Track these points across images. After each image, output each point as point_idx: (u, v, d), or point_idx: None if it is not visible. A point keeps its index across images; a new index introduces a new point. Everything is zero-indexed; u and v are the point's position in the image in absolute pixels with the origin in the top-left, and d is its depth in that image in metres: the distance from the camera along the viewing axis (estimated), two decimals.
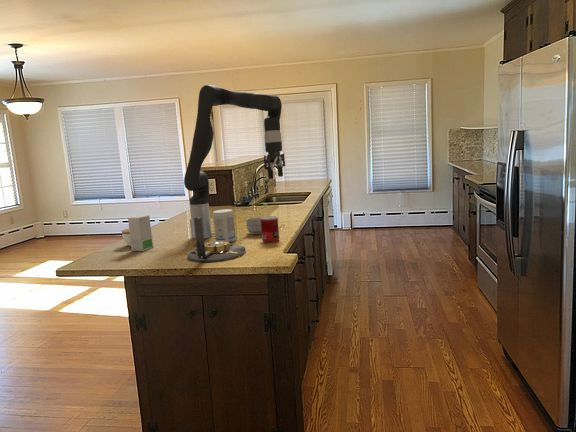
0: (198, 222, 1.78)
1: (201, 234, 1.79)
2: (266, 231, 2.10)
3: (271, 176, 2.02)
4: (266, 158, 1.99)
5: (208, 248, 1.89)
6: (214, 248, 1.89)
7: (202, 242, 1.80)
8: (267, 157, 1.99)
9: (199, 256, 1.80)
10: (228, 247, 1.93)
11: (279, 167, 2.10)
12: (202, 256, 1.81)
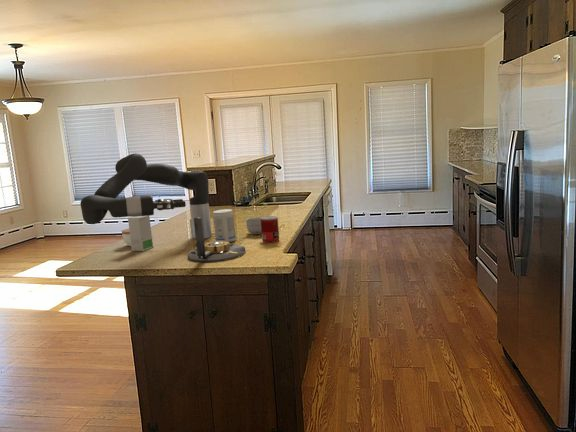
0: (198, 222, 1.78)
1: (201, 234, 1.79)
2: (266, 231, 2.10)
3: None
4: None
5: (208, 248, 1.89)
6: (214, 248, 1.89)
7: (202, 242, 1.80)
8: None
9: (199, 256, 1.80)
10: (228, 247, 1.93)
11: None
12: (202, 256, 1.81)
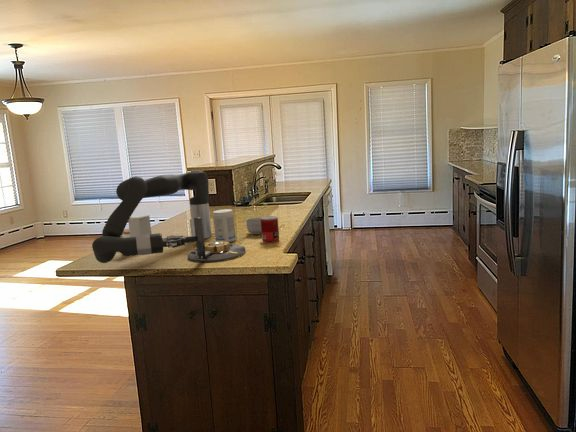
0: (198, 222, 1.78)
1: (201, 234, 1.79)
2: (266, 231, 2.10)
3: None
4: None
5: (208, 248, 1.89)
6: (214, 248, 1.89)
7: (202, 242, 1.80)
8: None
9: (199, 256, 1.80)
10: (228, 247, 1.93)
11: None
12: (202, 256, 1.80)
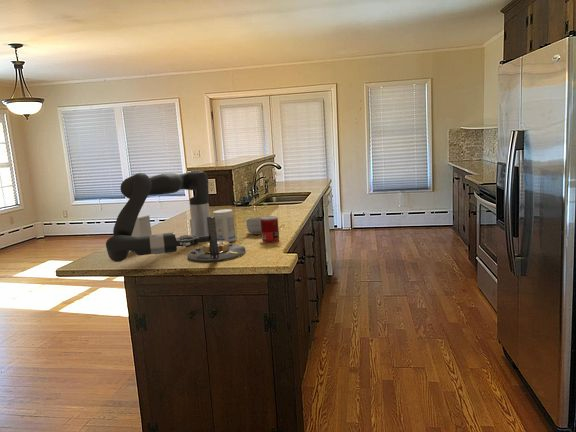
0: (213, 221, 1.78)
1: (215, 233, 1.79)
2: (266, 231, 2.10)
3: None
4: None
5: None
6: (219, 247, 1.89)
7: (216, 241, 1.80)
8: None
9: (213, 256, 1.80)
10: None
11: None
12: (217, 256, 1.80)
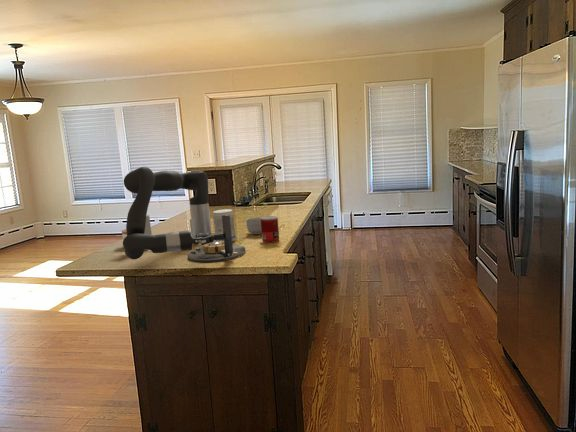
0: (229, 219, 1.80)
1: None
2: (266, 231, 2.10)
3: None
4: None
5: (219, 247, 1.89)
6: None
7: (231, 239, 1.82)
8: None
9: (230, 253, 1.81)
10: None
11: None
12: (232, 253, 1.83)
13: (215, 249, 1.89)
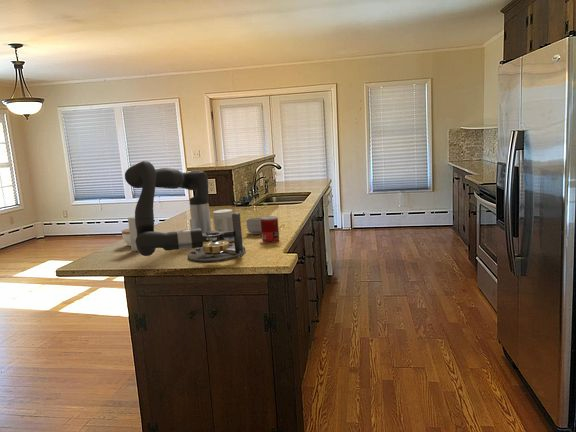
0: None
1: None
2: (266, 231, 2.10)
3: None
4: None
5: (224, 246, 1.90)
6: None
7: None
8: None
9: (241, 251, 1.85)
10: None
11: None
12: None
13: (219, 248, 1.90)
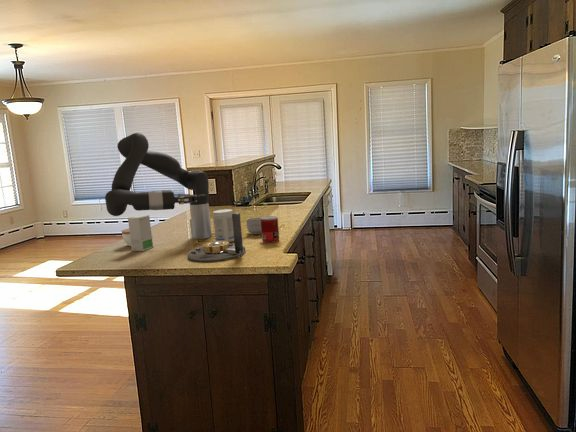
0: None
1: None
2: (266, 231, 2.10)
3: None
4: None
5: (224, 246, 1.90)
6: None
7: None
8: None
9: (241, 251, 1.85)
10: None
11: None
12: None
13: (219, 248, 1.90)
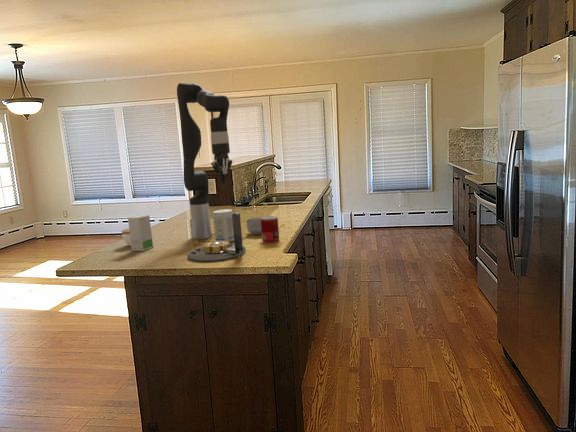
0: None
1: None
2: (266, 231, 2.10)
3: (223, 180, 2.00)
4: (214, 165, 1.95)
5: (224, 246, 1.90)
6: None
7: None
8: (215, 165, 1.94)
9: (241, 251, 1.85)
10: None
11: None
12: None
13: (219, 248, 1.90)
